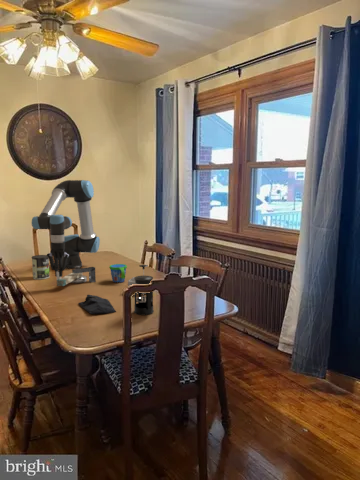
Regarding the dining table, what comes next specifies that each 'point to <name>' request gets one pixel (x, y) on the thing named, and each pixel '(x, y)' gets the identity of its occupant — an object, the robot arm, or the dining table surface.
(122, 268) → the snack cup
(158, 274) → the dining table surface
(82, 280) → the pin plate
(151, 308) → the french press
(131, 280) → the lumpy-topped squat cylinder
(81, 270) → the keeper
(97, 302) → the black folded cloth
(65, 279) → the link
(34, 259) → the coffee can
